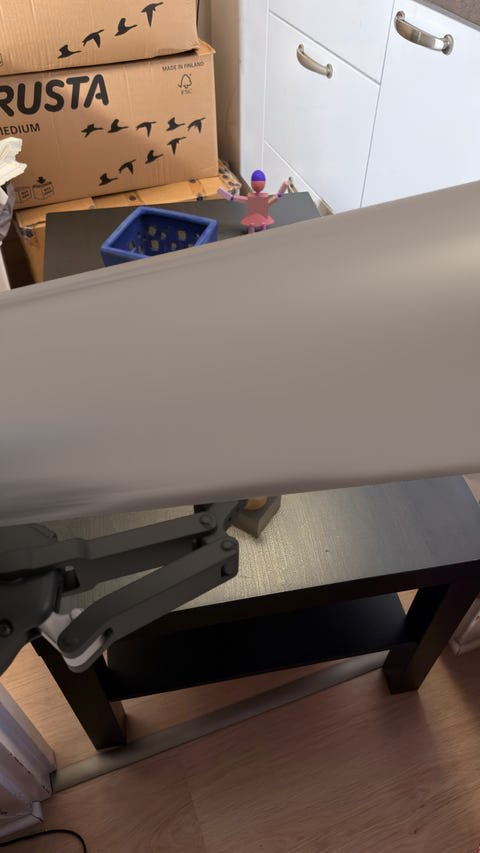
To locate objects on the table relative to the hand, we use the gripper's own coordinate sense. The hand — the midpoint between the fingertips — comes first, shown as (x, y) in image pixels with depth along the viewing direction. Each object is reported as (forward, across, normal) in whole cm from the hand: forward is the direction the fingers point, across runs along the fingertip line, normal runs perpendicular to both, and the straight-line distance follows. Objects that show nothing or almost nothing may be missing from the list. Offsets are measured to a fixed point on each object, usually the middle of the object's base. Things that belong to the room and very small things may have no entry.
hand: (171, 397), depth 40 cm
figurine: (+63, -32, -30) cm, 77 cm away
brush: (+13, -1, -30) cm, 33 cm away
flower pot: (+39, -33, -30) cm, 59 cm away
